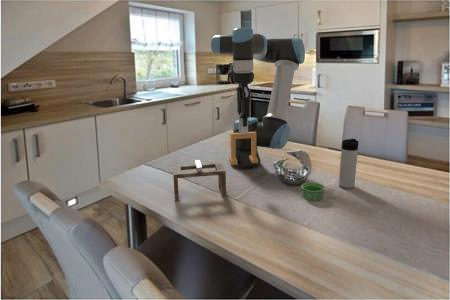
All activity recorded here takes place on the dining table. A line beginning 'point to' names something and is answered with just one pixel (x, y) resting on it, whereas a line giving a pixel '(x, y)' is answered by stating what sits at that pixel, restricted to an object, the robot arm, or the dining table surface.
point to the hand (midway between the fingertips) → (243, 132)
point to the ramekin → (312, 191)
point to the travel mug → (348, 163)
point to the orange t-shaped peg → (239, 136)
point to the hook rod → (198, 165)
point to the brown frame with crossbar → (219, 171)
